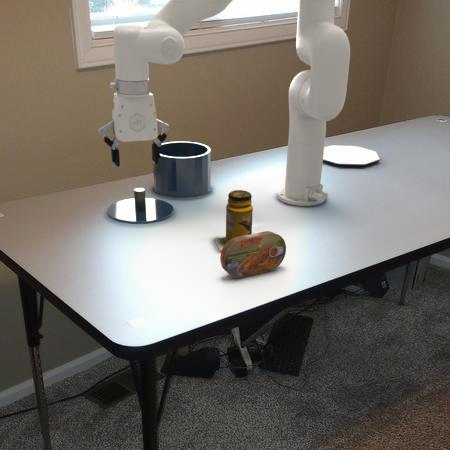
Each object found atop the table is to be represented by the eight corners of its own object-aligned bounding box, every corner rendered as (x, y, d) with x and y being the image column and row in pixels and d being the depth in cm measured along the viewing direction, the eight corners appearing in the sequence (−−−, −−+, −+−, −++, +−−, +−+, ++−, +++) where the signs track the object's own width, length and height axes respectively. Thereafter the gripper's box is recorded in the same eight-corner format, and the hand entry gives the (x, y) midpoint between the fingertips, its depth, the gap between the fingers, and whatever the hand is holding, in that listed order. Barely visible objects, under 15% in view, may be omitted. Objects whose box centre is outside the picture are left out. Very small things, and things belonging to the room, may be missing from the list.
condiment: (256, 249, 151) (258, 197, 143) (220, 251, 149) (221, 200, 142) (248, 236, 156) (250, 186, 149) (213, 239, 155) (214, 189, 147)
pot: (221, 192, 181) (222, 151, 174) (174, 203, 173) (173, 161, 167) (189, 177, 191) (189, 138, 184) (144, 187, 183) (141, 147, 177)
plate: (382, 169, 201) (383, 164, 200) (319, 167, 201) (319, 162, 200) (372, 150, 216) (372, 146, 215) (313, 149, 216) (313, 144, 215)
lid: (186, 216, 166) (185, 192, 162) (129, 231, 158) (127, 206, 154) (151, 197, 176) (150, 174, 173) (96, 210, 168) (93, 186, 165)
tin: (224, 281, 137) (225, 243, 132) (217, 275, 139) (218, 238, 134) (285, 268, 142) (288, 231, 137) (278, 262, 145) (280, 226, 140)
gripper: (98, 92, 144) (104, 170, 154) (173, 89, 149) (174, 165, 159) (91, 85, 149) (98, 161, 160) (164, 82, 155) (165, 156, 165)
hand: (136, 163), depth 159 cm, fingers open, 9 cm apart
